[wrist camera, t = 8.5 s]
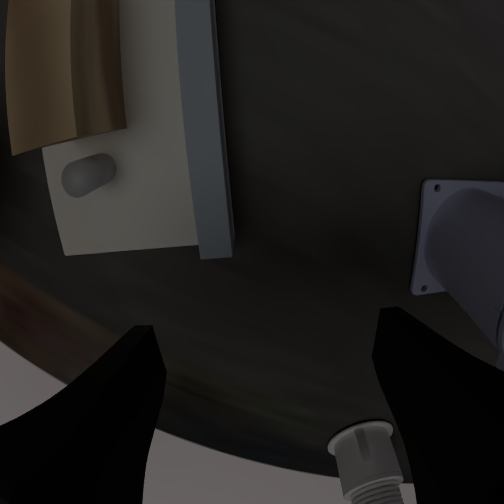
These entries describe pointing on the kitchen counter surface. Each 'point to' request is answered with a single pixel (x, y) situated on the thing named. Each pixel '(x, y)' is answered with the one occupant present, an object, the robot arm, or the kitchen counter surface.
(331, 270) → the kitchen counter surface
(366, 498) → the white threaded pipe fitting
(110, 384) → the robot arm
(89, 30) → the brown tapered block
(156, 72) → the board
